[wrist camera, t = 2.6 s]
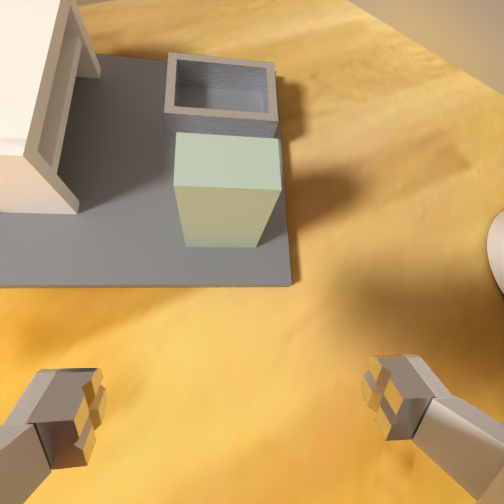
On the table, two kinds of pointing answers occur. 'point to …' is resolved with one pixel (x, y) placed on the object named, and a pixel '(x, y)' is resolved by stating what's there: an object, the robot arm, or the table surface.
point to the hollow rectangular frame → (226, 78)
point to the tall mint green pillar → (225, 188)
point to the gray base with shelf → (104, 167)
